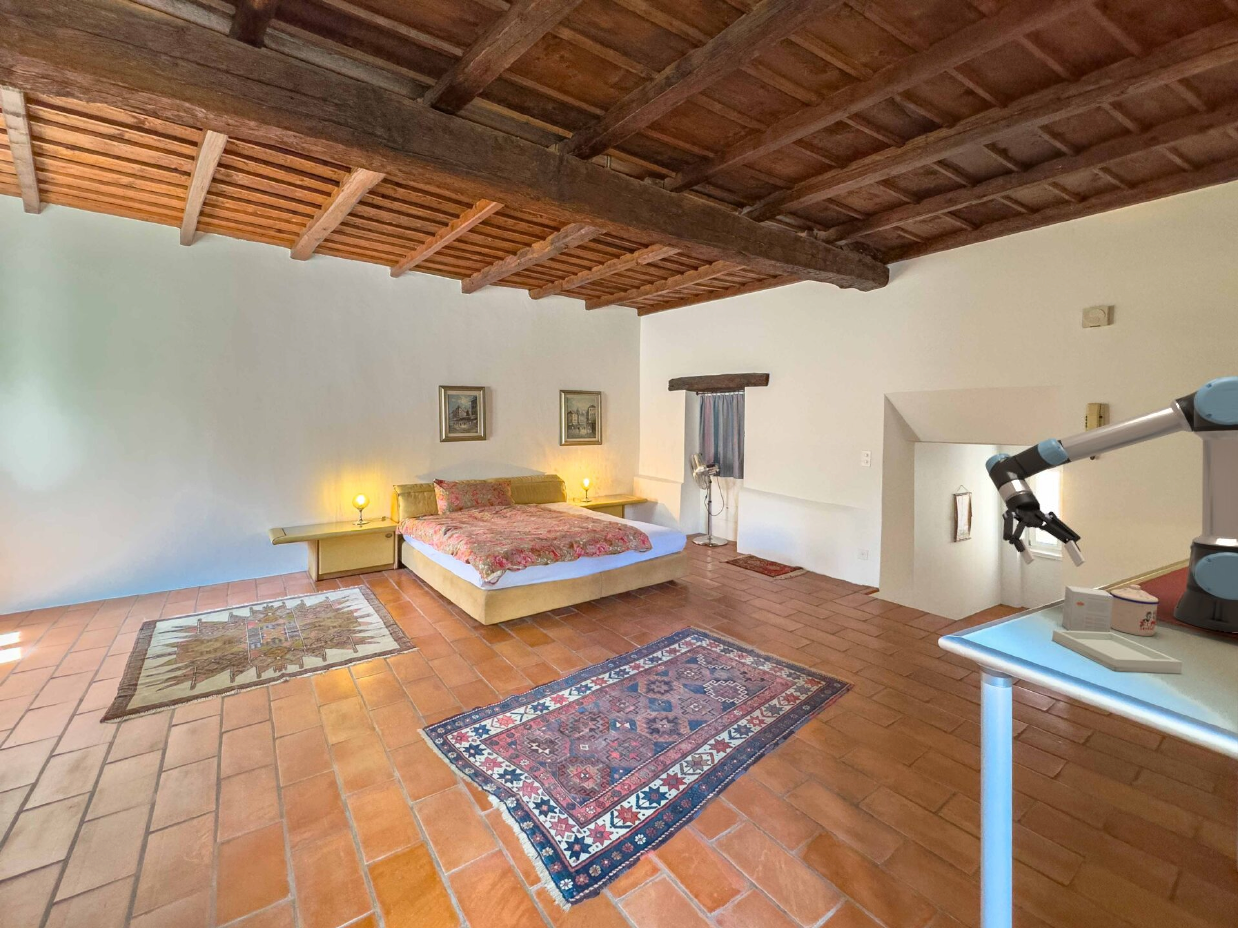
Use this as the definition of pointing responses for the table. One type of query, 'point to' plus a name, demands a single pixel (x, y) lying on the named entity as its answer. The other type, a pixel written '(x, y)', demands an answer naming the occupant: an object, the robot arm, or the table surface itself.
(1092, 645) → the sage tray
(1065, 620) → the small box
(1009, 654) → the table surface
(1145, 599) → the teacup with lid
